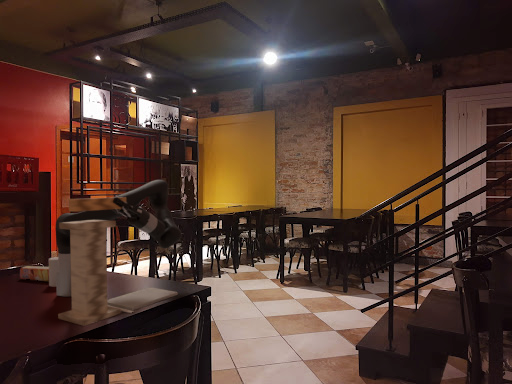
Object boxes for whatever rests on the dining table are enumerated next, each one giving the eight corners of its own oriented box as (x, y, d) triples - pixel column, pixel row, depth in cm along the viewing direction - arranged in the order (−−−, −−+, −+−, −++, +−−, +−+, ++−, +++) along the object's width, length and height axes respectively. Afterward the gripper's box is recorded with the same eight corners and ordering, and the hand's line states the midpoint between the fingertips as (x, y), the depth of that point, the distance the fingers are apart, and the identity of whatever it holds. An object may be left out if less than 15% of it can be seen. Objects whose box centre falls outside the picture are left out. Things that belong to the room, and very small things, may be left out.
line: (130, 313, 133) (130, 312, 133) (94, 304, 144) (94, 303, 144) (134, 312, 135) (134, 311, 135) (97, 303, 145) (97, 302, 145)
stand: (95, 307, 141) (93, 219, 140) (120, 313, 133) (118, 220, 133) (58, 318, 129) (56, 222, 129) (83, 325, 122) (81, 224, 121)
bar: (119, 208, 144) (119, 197, 144) (126, 208, 142) (126, 197, 142) (68, 211, 127) (68, 199, 127) (76, 211, 125) (75, 199, 125)
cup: (53, 282, 180) (53, 256, 179) (72, 281, 180) (71, 256, 180) (45, 287, 172) (45, 260, 171) (64, 286, 172) (64, 259, 172)
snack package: (18, 280, 186) (18, 266, 186) (30, 277, 192) (30, 263, 192) (51, 283, 179) (51, 268, 179) (63, 280, 185) (62, 266, 185)
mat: (131, 310, 136) (131, 307, 136) (102, 303, 145) (102, 301, 145) (177, 294, 156) (177, 292, 156) (149, 289, 164) (149, 287, 164)
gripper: (134, 211, 156) (101, 190, 144) (159, 211, 149) (127, 190, 136) (126, 228, 153) (93, 208, 141) (152, 229, 146) (119, 209, 133)
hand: (110, 199), depth 138 cm, fingers closed on bar, 4 cm apart
